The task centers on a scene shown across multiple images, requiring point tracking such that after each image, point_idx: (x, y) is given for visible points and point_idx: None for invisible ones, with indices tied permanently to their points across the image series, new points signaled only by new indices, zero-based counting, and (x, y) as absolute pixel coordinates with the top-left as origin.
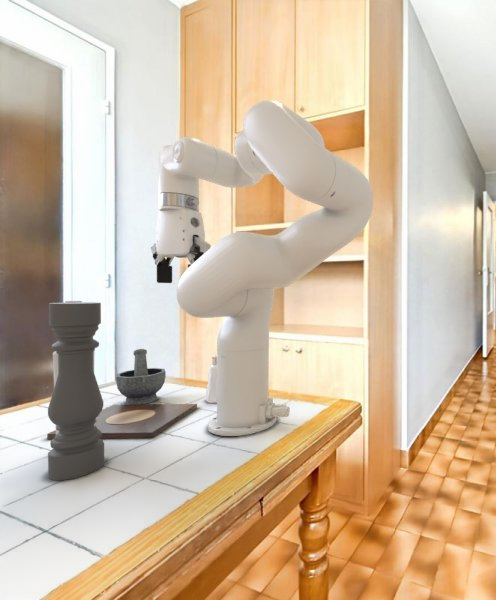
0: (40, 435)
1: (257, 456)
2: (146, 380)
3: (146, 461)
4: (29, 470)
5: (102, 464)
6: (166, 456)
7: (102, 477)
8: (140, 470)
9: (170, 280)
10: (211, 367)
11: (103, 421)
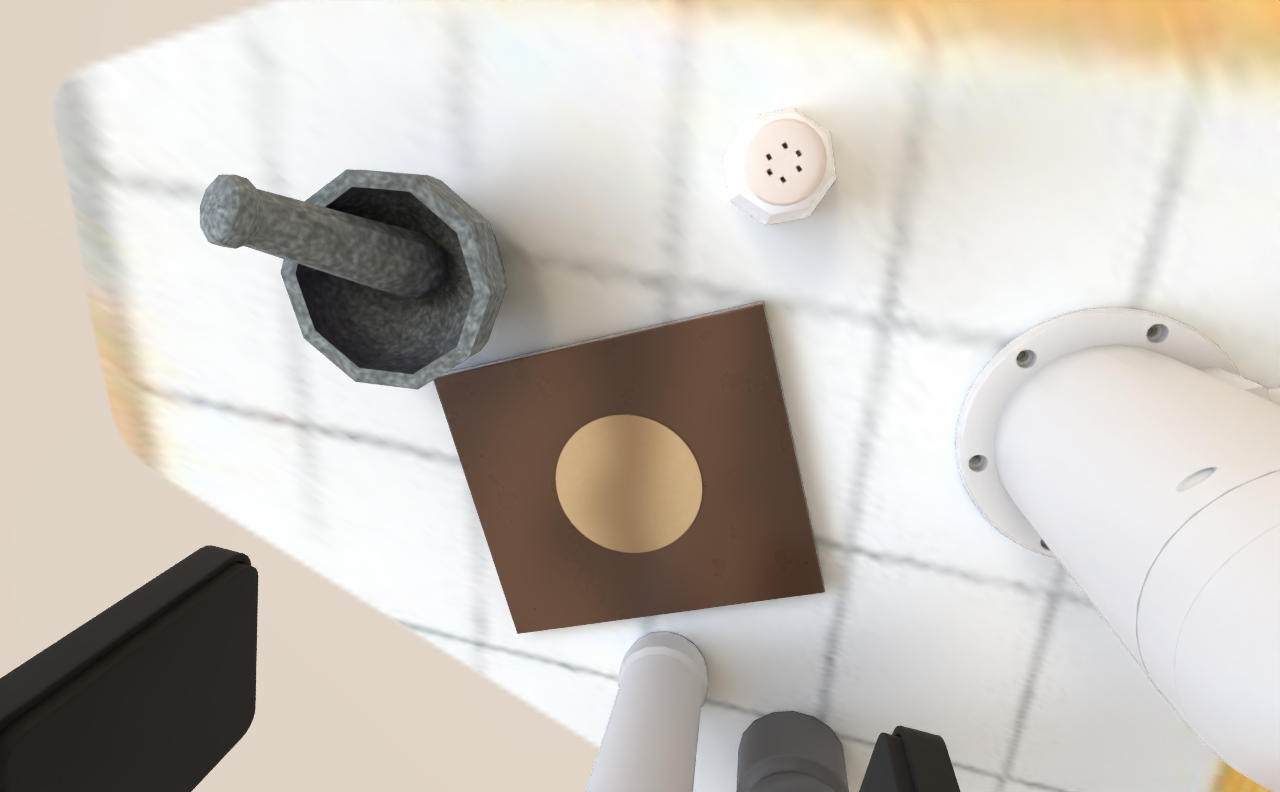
0: (472, 603)
1: None
2: (482, 336)
3: (935, 709)
4: None
5: (836, 738)
6: (971, 681)
7: None
8: (959, 748)
9: (237, 604)
10: (769, 214)
11: (577, 534)
